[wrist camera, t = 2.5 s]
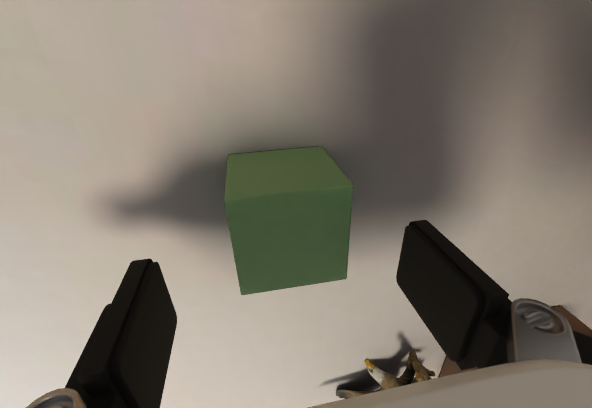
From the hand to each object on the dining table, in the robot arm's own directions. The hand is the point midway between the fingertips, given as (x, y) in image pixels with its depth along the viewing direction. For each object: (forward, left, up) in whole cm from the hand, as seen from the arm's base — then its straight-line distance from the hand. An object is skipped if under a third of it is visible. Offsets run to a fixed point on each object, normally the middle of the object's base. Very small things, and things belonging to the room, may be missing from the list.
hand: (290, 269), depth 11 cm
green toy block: (0, 0, -6) cm, 6 cm away
